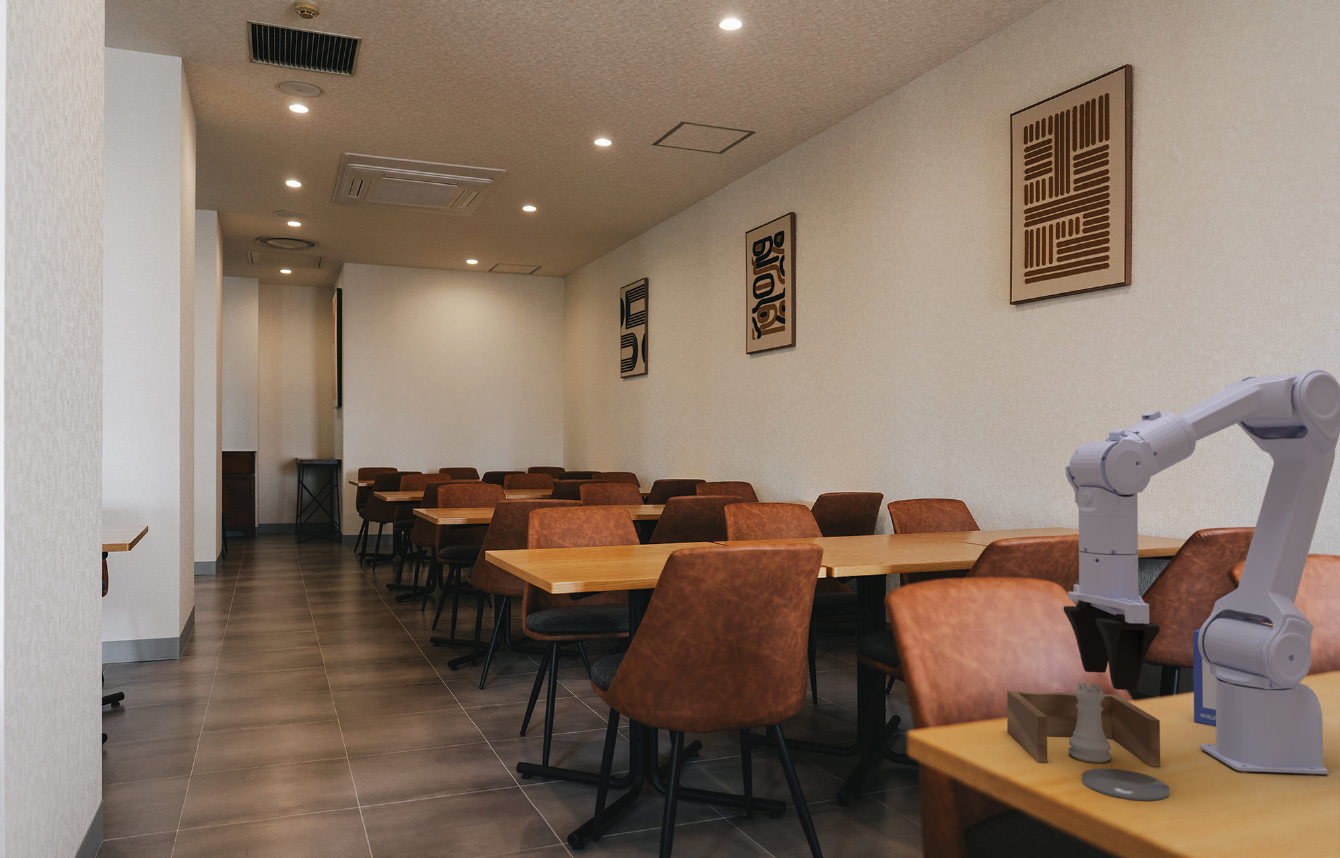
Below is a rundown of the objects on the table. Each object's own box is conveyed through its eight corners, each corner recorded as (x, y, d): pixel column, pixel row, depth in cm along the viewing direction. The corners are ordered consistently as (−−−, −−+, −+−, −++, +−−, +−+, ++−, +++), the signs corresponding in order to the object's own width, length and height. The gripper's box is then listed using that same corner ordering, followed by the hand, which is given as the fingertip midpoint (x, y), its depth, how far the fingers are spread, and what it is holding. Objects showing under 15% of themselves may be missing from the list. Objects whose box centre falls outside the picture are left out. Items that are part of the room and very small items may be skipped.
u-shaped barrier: (1117, 736, 107) (1116, 694, 107) (1160, 766, 96) (1159, 720, 96) (1007, 732, 108) (1007, 691, 108) (1037, 762, 97) (1037, 716, 97)
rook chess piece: (1116, 765, 97) (1116, 691, 97) (1073, 762, 97) (1072, 689, 98) (1105, 752, 101) (1104, 682, 101) (1063, 749, 102) (1063, 679, 102)
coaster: (1147, 773, 94) (1147, 770, 94) (1185, 802, 86) (1185, 798, 86) (1069, 770, 95) (1069, 767, 95) (1100, 799, 87) (1100, 794, 87)
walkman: (1193, 722, 114) (1192, 628, 114) (1200, 718, 116) (1199, 626, 116) (1265, 736, 108) (1264, 637, 108) (1271, 732, 110) (1270, 635, 110)
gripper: (1046, 545, 102) (1047, 663, 102) (1096, 558, 88) (1097, 696, 87) (1109, 546, 102) (1110, 665, 101) (1170, 560, 87) (1172, 698, 87)
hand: (1109, 680), depth 94 cm, fingers open, 7 cm apart
